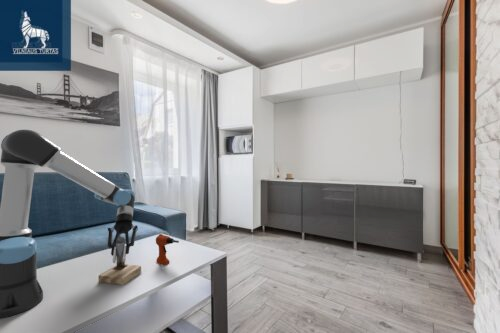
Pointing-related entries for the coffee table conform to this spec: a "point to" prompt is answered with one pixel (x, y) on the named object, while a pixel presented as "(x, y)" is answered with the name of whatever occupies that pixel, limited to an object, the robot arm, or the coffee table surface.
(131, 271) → the block
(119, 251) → the metal round-headed rod
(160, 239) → the toy drill
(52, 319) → the coffee table surface
